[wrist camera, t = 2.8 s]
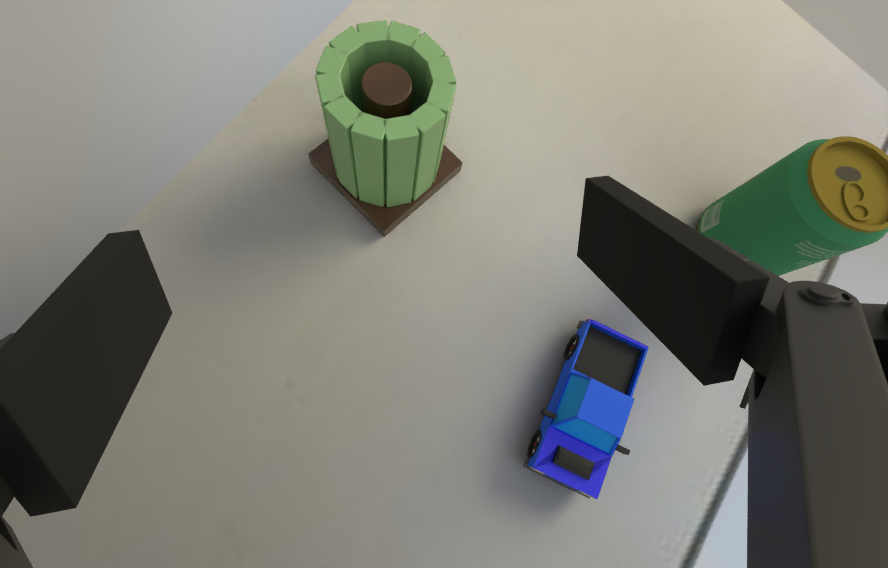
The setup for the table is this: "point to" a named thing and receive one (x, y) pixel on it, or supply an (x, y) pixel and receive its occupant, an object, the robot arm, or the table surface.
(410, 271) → the table surface
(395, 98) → the stacking stand
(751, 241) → the beverage can
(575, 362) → the toy car
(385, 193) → the green tube
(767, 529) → the robot arm
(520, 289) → the table surface
